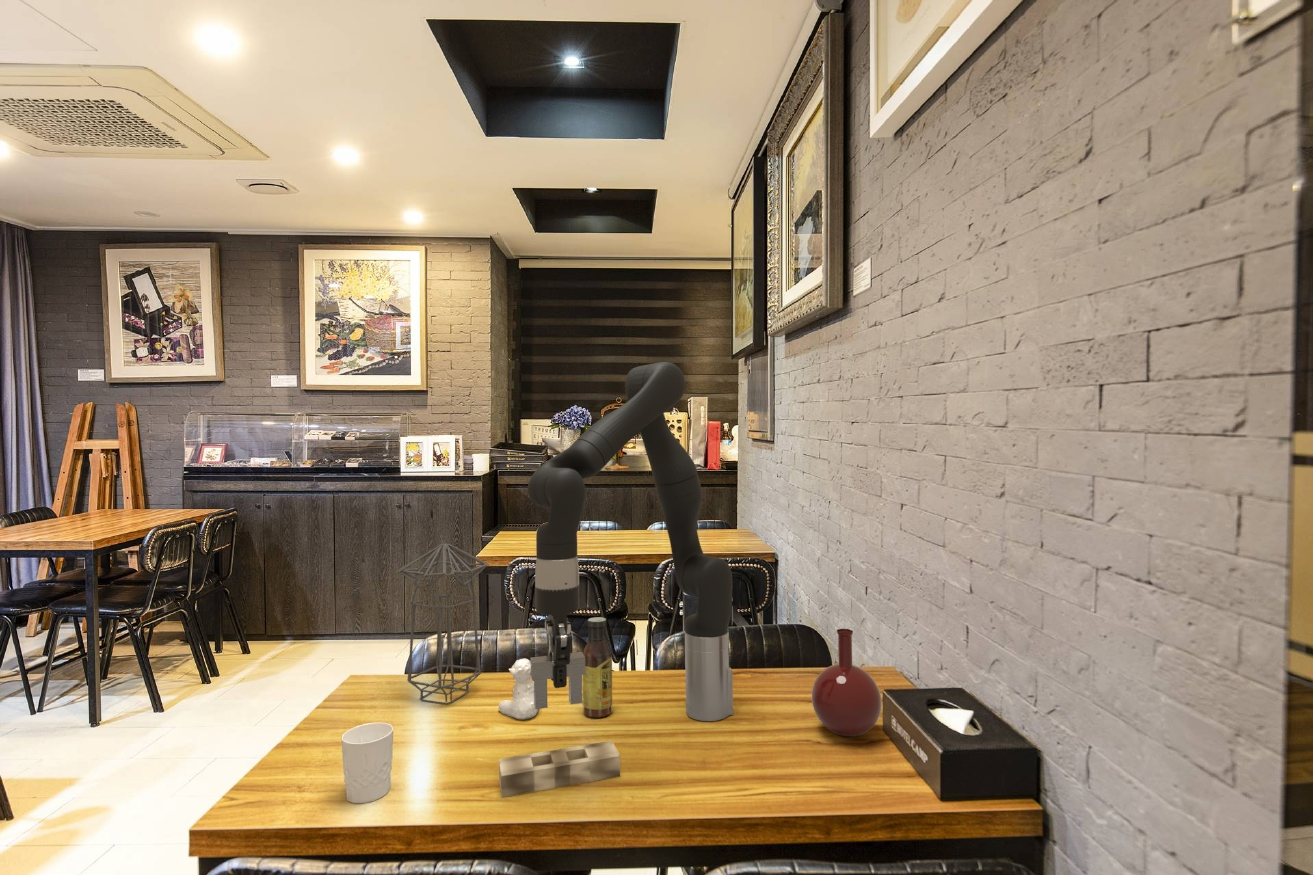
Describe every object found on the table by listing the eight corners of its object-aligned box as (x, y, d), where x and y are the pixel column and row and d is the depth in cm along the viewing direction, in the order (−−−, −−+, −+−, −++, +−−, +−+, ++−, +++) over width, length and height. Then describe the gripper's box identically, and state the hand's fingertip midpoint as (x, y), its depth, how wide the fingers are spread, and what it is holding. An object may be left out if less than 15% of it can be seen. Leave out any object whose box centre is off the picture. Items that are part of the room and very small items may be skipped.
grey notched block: (582, 697, 113) (581, 651, 113) (585, 703, 110) (585, 657, 110) (530, 703, 111) (530, 657, 111) (532, 710, 108) (532, 663, 108)
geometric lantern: (393, 703, 143) (392, 547, 145) (442, 681, 158) (441, 538, 159) (449, 713, 137) (448, 549, 139) (495, 688, 152) (493, 540, 153)
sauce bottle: (607, 720, 133) (606, 624, 133) (579, 718, 134) (577, 623, 134) (616, 707, 139) (614, 615, 140) (588, 705, 141) (587, 614, 141)
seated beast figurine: (540, 702, 143) (539, 648, 143) (551, 716, 135) (550, 659, 135) (497, 710, 139) (497, 655, 139) (506, 726, 131) (505, 667, 131)
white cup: (353, 781, 110) (352, 723, 110) (400, 778, 111) (399, 720, 111) (334, 807, 102) (333, 744, 103) (384, 804, 103) (384, 742, 103)
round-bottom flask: (815, 715, 134) (813, 619, 134) (882, 723, 129) (880, 624, 130) (808, 743, 121) (806, 637, 122) (882, 753, 117) (880, 644, 117)
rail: (612, 759, 116) (611, 740, 116) (620, 776, 111) (620, 755, 111) (499, 779, 110) (498, 758, 110) (501, 797, 104) (501, 775, 105)
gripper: (586, 589, 105) (587, 695, 105) (571, 573, 119) (572, 667, 118) (540, 593, 103) (541, 701, 103) (530, 576, 116) (531, 672, 116)
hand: (558, 682), depth 111 cm, fingers closed on grey notched block, 3 cm apart
